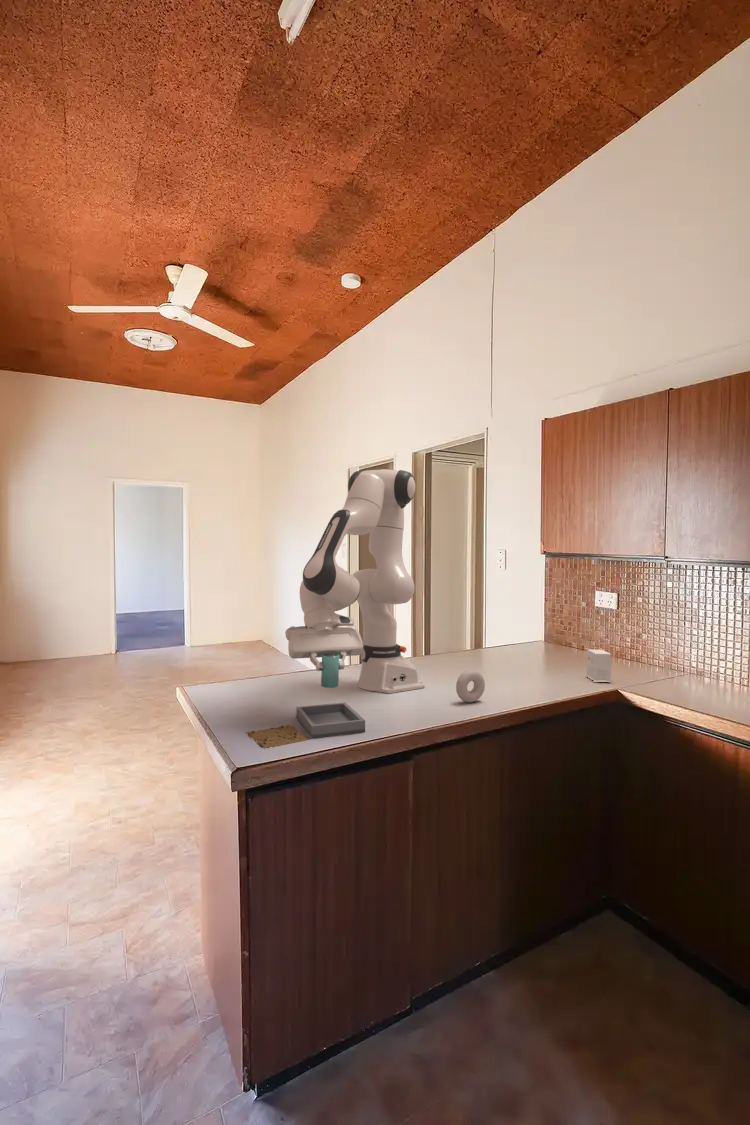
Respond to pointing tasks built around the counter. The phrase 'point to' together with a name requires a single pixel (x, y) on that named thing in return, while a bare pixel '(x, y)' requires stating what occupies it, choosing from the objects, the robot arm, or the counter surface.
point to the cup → (330, 670)
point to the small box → (599, 664)
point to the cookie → (277, 736)
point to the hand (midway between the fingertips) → (330, 669)
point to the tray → (330, 720)
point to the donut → (463, 682)
